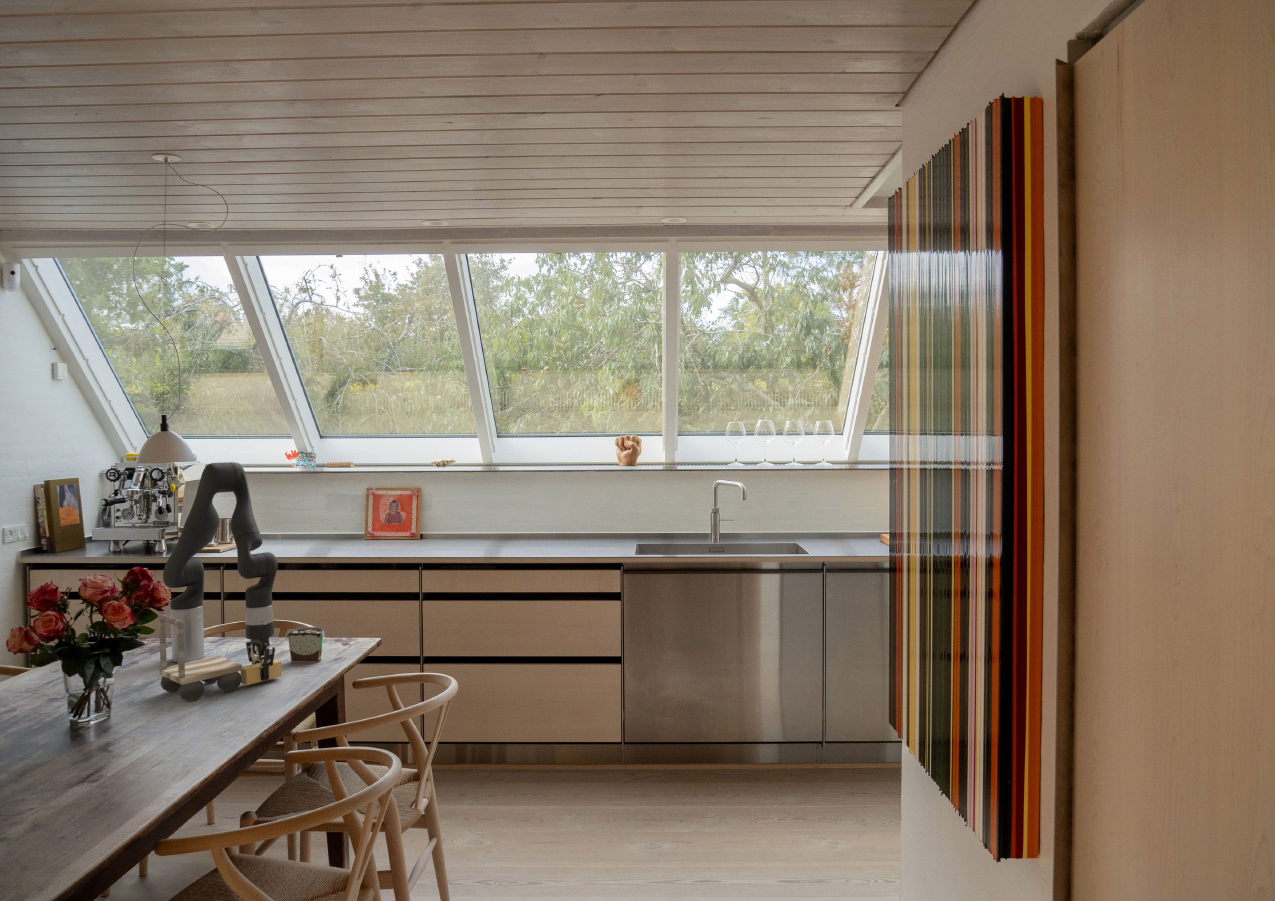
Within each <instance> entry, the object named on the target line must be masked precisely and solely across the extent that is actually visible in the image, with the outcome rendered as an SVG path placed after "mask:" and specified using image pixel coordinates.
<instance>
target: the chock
mask: <svg viewBox="0 0 1275 901" xmlns="http://www.w3.org/2000/svg"><path fill="white" fill-rule="evenodd" d="M240 675H241V678H242V680H241V684H243V685H245V686H249V685H253V684H259V683H262V682H263V681H262V680H261V677H260V663H256V664H252V663H251V664H249V665H244V666H242V671H240ZM279 677H280V678H281V677H282V661H280V660H278V659H274V661H273V665H272V666H270V667H269V679H268V680H267V681H269V680H273V679H277V678H279Z"/></svg>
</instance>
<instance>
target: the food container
mask: <svg viewBox="0 0 1275 901" xmlns="http://www.w3.org/2000/svg"><path fill="white" fill-rule="evenodd" d="M325 637H326V635H325V631H324V630H323V627H318V626H307V627H298V628H293V629H290V630H288V631H287V632H286V638H287V639H288V646H289V647H288V648H289V655H290V661H291V663H320V662H321V661H322V650H323V639H324V638H325Z"/></svg>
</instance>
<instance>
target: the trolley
mask: <svg viewBox="0 0 1275 901" xmlns="http://www.w3.org/2000/svg"><path fill="white" fill-rule="evenodd" d="M166 623H167V624H170V625H171V624H173V625H176V626H177V643H178V662H177V664H174V665H170V666H168V662H167V661H168V660H167V658H168V657H167V634H166V632H167V631H166ZM183 624H184V623H183V621H181V620H178V619H175V618H172V617H171V616H170V615H166V614H164V613H161V614H160V615H159V616H158V627H159V628H158V629H159V630H158V631H159V632H158V634H159V656H160V657H159V658H160V659H159V663H160V668H158V669H159V675H160V676H162V677H161V679H160V686H161V688H162V690H164V691H166V692H168V693H176V692H178V695H179V697H180V699H181V700H183V701H185V702H188V703H193V702H196V701H197V700H199V699H201V698H202V696H203V694H204V693H205V690H206V687H205V683H206V684H213V683H215V682H216V684H217V688H218V689H219V690H220V691H222V692H226V693H232V692H235V691H236V690H237V689H238V688H239V687H240V685H241V684H242V683H241V680H242V678H241V671H242V667H243V664H241V663H240V662H236V661H233V660H231V659H228V658H225V657H224V656H221V655H215V656H210V657H209V656H208V657H206V658H201V659H198V660H195V661H189V662H185V658H184V626H183ZM212 682H213V683H212Z"/></svg>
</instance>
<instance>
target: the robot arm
mask: <svg viewBox="0 0 1275 901" xmlns="http://www.w3.org/2000/svg"><path fill="white" fill-rule="evenodd" d="M217 493H233V495H234V496H235V501H236V504H235V508H234V510H233V513H232V516H231V519H230V532H231V534H232V537H233V540H234V543H235V545H236V552H237V554H236V555H237V572H238V574H239V575H240V576H241V577H242V578H243V579H246V580H251V579H258V578H259V580H258V582H257V583H255V584H253V585H251V586H249V587H247V588H246V590H245V593H244V595H245V613H244V616H245V617H244V619H245V626H244V627H245V638H246V639H247V640H249V641H246V642H245V646H246V651H247V657H248V661H249V662H250V663H251V665H252V664H256V663H260V677H261V680H262V681H261V682H265V681H269V680H270V679H269V667H270V666H272V665H273V661H274V658H275V653H276V648H275V646H272V647H271V643H270V642H271V641H270V638H271V637H273V636H274V635H275V629H274V626H275V625H274V622H275V619H274V618H275V617H274V609H273V593H272V592H273V587H274V584H275V579H276V575H277V571H278V566H279V565H278V559H277V557H276V556H275V554H274V553H272V552H269V551H268V552H267V551H266V552H259V553H251V552H253V551H255V550H257V549H259V548H260V547H261V546H262V544H263V539H262V538H263V537H262V535H261V533H260V531H259V527H258V525H257V522H256V519H255V516H254V510H253V504H252V500H251V494H250V489H249V485H248V479H247V475H246V471H245V469H244V467H243V466H242V465H241V463H239V462H235V461H234V462H233V461H231V462H223V461H222V462H212V463H208V464H206V465H205V467H204V468H203V471H202V473H201V476H200V479H199V483H198V487H197V491H196V494H195V497H194V500H193V503H192V506H191V509H190V510H189V513H188V515H187V517H186V520H185V522H184V524H183V528H182V531H181V533H180V535H179V538H178V541H177V542H176V544H175V547H174V548H173V550H172V552H171V554H170V556H169V557H168V559H167V561H166V562H165V565H164V568H163V572H162V573H163V574H162V580H163V583H164V585H165V586H166V587H167V588H170V589H178V588H179V589H180V588H184V587H186V588H185V590H184V591H183V592H182V593H180V594H179V595H177V596H175V597H174V598H172V599H171V600H170V603H169V608H170V617H172V618H175V619H178V620H181V621H183V623H184V624H183V626H184V658H185V663H187V662H191V661H196V660H200V659H204V657H205V636H204V635H205V634H204V633H205V632H204V630H205V629H204V608H203V607H204V605H203V604H204V603H203V602H204V595H205V593H204V592H205V589H204V588H205V567H204V564H203V561H202V559H201V558H199V557H196V556H195V555H197V554H198V553H200V551H201V550H203V549H205V548H206V547H207V546H208V545H210V543H211V542H212V541H213V539H214V537H215V536H216V533H217V530H218V528H219V526H220V517H219V516H220V515H219V513H218V511H217V509H216V508H215V506H214V504H213V499H214V497H215V495H217ZM194 556H195V557H194ZM170 629H171V631H170V635H171V636H170V638H171V661H172V662H174V663H178V643H177V626H176V625H173V624H171V623H170ZM268 679H269V680H268Z"/></svg>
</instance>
